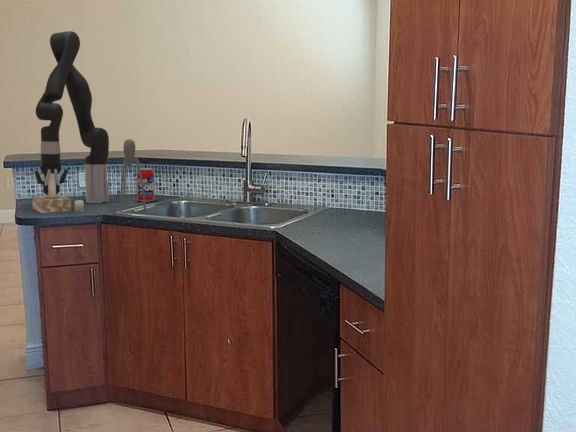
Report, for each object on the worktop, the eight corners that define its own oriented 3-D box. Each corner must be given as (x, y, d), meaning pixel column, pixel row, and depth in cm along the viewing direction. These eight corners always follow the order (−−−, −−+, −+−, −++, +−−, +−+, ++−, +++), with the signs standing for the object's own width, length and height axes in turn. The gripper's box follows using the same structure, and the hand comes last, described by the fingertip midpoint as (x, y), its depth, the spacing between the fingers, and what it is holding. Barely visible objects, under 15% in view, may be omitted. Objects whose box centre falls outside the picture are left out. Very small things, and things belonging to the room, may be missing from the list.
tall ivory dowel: (54, 205, 298) (54, 172, 296) (57, 206, 295) (56, 173, 293) (46, 206, 296) (45, 172, 294) (48, 207, 293) (47, 173, 291)
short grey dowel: (81, 210, 297) (81, 200, 296) (85, 212, 294) (84, 201, 293) (73, 211, 295) (73, 200, 294) (76, 212, 292) (76, 201, 291)
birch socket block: (61, 207, 304) (61, 195, 304) (71, 211, 295) (70, 199, 294) (32, 208, 297) (32, 197, 297) (41, 213, 288) (41, 200, 287)
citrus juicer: (146, 211, 300) (145, 139, 295) (131, 214, 291) (130, 140, 286) (124, 208, 304) (123, 138, 299) (108, 212, 295) (108, 139, 290)
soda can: (147, 199, 333) (147, 167, 331) (157, 201, 328) (157, 168, 325) (133, 200, 328) (133, 168, 325) (143, 203, 322) (143, 169, 320)
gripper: (64, 151, 299) (65, 192, 302) (30, 152, 291) (31, 194, 294) (70, 152, 293) (71, 194, 296) (35, 153, 285) (36, 196, 288)
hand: (51, 193), depth 295 cm, fingers closed on tall ivory dowel, 3 cm apart
